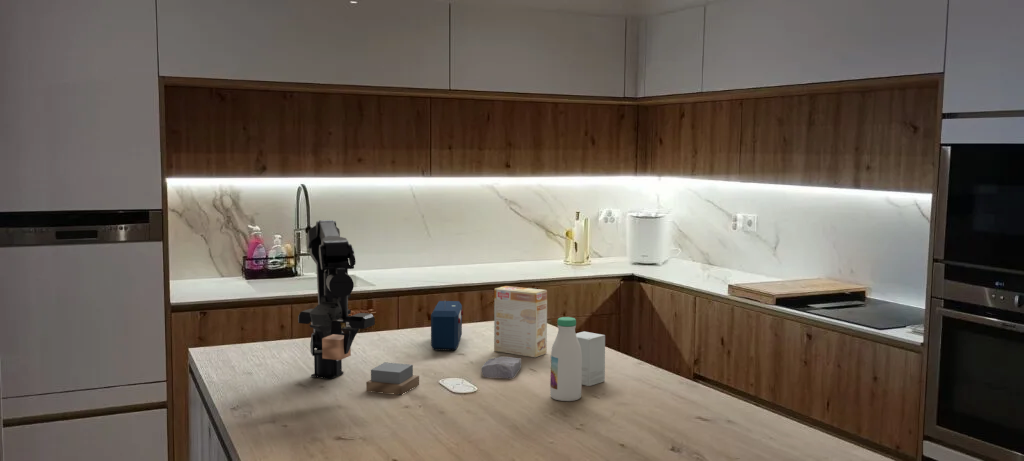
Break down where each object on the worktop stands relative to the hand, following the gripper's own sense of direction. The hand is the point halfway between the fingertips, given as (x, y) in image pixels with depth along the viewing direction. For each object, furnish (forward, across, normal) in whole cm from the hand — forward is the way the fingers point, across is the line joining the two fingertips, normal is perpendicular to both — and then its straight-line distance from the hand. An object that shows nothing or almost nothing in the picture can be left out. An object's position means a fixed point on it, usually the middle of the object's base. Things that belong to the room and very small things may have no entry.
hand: (336, 352), depth 211 cm
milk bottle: (+11, +53, +20) cm, 58 cm away
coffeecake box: (+11, +27, +60) cm, 66 cm away
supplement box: (+11, +54, +36) cm, 66 cm away
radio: (+11, +2, +62) cm, 63 cm away
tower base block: (+12, +10, +12) cm, 19 cm away
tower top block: (+9, +9, +12) cm, 17 cm away
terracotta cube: (+1, 0, 0) cm, 1 cm away
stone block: (+12, +30, +36) cm, 48 cm away
